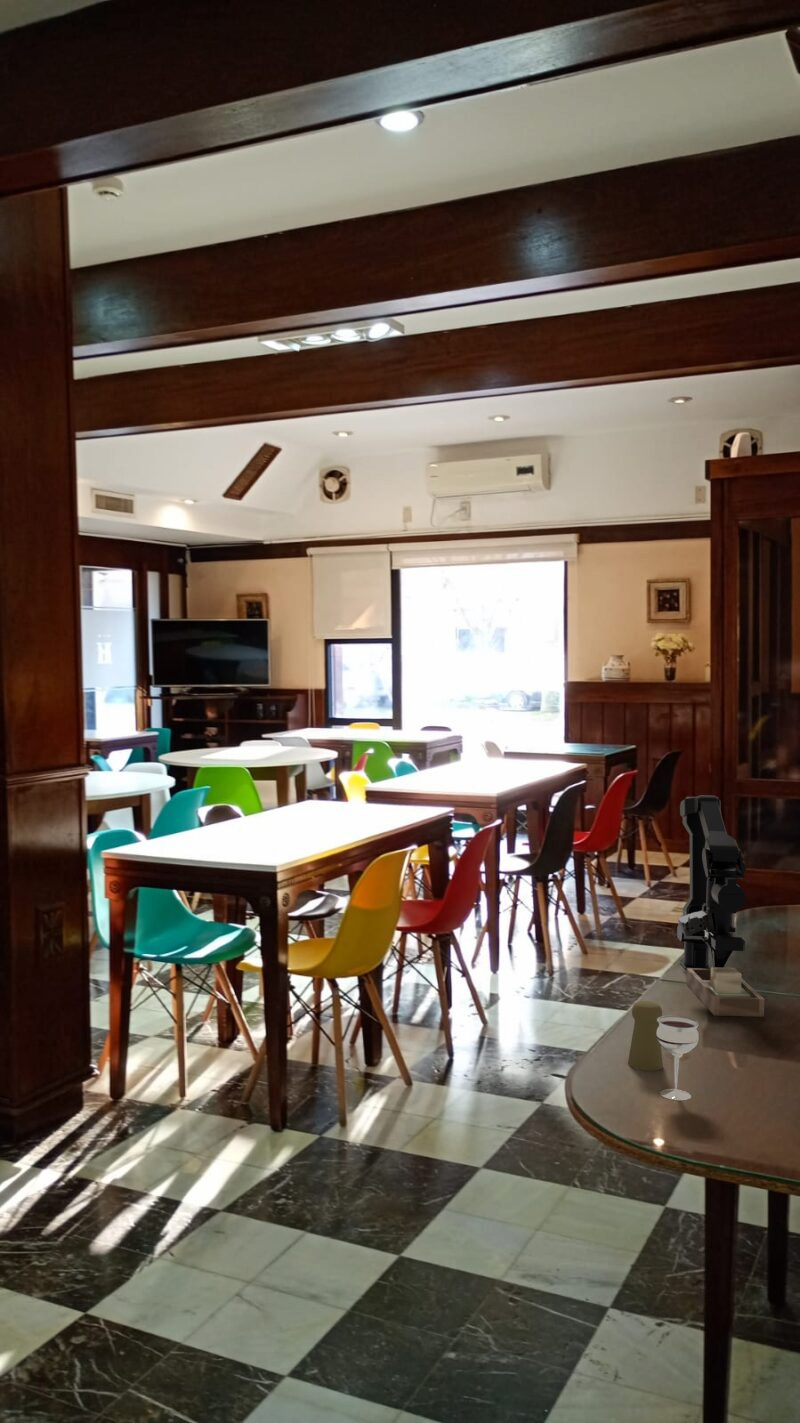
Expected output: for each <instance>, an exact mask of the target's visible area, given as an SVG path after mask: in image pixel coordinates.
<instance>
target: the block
mask: <svg viewBox="0 0 800 1423" xmlns="http://www.w3.org/2000/svg"><path fill="white" fill-rule="evenodd" d="M742 976H743V975H742V973H741V972H740V971H739V970H738V969H736V967H723V968H722V967H713V966H712V967H711V979H710V986H711V987H712V988H713V989H714V990H715V991H716V992H717V993H741V978H742Z"/></svg>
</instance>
